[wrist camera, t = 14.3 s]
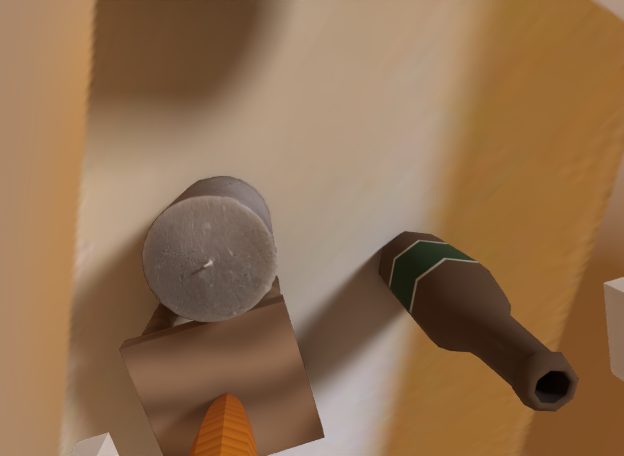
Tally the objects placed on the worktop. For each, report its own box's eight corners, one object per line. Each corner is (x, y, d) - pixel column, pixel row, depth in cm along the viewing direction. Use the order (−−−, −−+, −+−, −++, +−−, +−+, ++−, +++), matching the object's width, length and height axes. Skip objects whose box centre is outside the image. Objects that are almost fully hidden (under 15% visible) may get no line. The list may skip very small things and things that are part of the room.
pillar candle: (168, 258, 45) (125, 321, 30) (184, 164, 43) (146, 183, 28) (261, 274, 46) (263, 342, 32) (280, 185, 44) (292, 213, 30)
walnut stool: (148, 302, 45) (119, 349, 36) (278, 264, 46) (283, 301, 36) (191, 413, 49) (175, 484, 39) (311, 376, 50) (324, 437, 40)
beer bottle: (457, 248, 48) (642, 361, 25) (419, 307, 49) (564, 466, 26) (400, 215, 47) (542, 302, 23) (362, 276, 48) (463, 417, 24)
